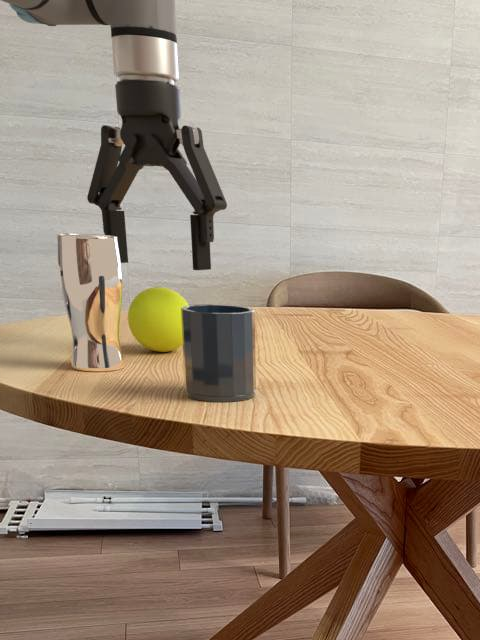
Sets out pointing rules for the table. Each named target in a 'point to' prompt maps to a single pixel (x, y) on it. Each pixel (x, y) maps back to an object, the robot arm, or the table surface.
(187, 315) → the cup
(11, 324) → the table surface
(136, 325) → the ball
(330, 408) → the table surface
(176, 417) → the table surface
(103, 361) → the beer glass
